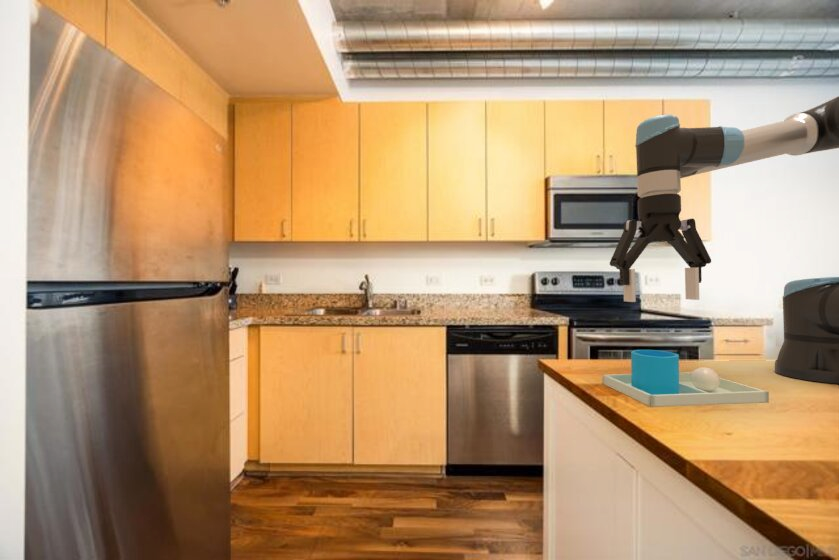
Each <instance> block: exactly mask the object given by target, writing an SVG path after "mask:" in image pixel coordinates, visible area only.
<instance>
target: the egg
mask: <svg viewBox="0 0 839 560" xmlns="http://www.w3.org/2000/svg"><path fill="white" fill-rule="evenodd" d="M691 372H692V374H691V381H692V383H693V385H694V386H695V387H696V388H698V389H700V390H703V391H713V390H715V389H716V388H717V387H718V386H719V383H720V379H719V377H720V376H719V374H718V373H717V371H715V370H714V369H712V368H709V367H705V366H700V367H698V368H695V369H694V370H693V371H691Z"/></svg>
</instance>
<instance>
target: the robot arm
mask: <svg viewBox="0 0 839 560" xmlns="http://www.w3.org/2000/svg"><path fill="white" fill-rule="evenodd" d="M834 149H839V95H838V96H836V97H834V98H832V99H829V100H828V101H825V102H824V103H822V104H819V105H817V106H815V107H813V108H810V109H807V110H804V111H802V112H797V113H794V114H791V115H790V116H789V115H788V117H786V118H785V119H784V120H783V121H780V122H774V123H770V124H765V125H760V126H757V127H752V128H750V129H748V128H747V129H745V130H740V129H739V128H737V127H729V126H728V127H727V126H721V125H720V126H713V127H711V126H710V127H689V128H688V127H681V123H680V120H679V118H678V116H676V115H674V114H661V115H655V116H653V117H649V118H647V119H645V120H643V121H642V122H640V123H639V124H638V125H637V128H636V134H635V150H636V152H635V153H636V157H635V158H636V174H637V175H636V176H637V178H636V183H637V186H636V187H637V196H638V197H639V199H638V200H637V215H638V218H639V219H638V220H637V219H634V218H633V219H630V220H625V221H624V222H623V229H622V230H623V231H622V234H621V236H620V239H619V241H618V243H617V245H616V247H615V250H614V252H613V255H612V256H611V259H610V261H609V265H610V266H611V267H614V268H616V270H619V283H620V286H623V302H628V303H629V302H630V303H636V301H637V299H636V295H637V294H636V269H635V268H633V269H632V267H633V265H634V264H635V262H636V261H637V260H638V259H639V257H640V255H642V253H643V252H644V251H645V249H646V248H647V247H648V246H649V245H650V244H651V243H655V242H656V243H657V242H658V243H667V244H669V245H671V247H672V248H673V249H674V250H675V252H677V254H678V255H679V256H680V257H681V258H682V260H683V261H684V262H685V263H686V264H687V265H688V267H684V283H685V284H684V285H685V289H684V290H685V300H692V301H693V300H694V301H695V300H697V301H700V283H702V268H704V267H706V266H707V264H711V263H712V259H711V257H710V254H709V253H708V251H707V248H706V246H705V245H704V242H703V240H702V238H701V236H700V234H699V232H698V230H697V226H696V220H695V218H688V219H682V220H681V219H680V214H681V213H682V212H681V211H682V195H680V194H679V193H680V192H681V191H682V188H681V187H682V186H681V185H682V184H681V182H682V181H681V179H685V178H688V177H692V176H695V175H700V174H704V173H708V172H714V171H717V170H721V169H725V168H729V167H733V166H734V167H735V166H739V165H743V164H748V163H753V162H757V161H760V160H765V159H770V158H773V157H778V156H782V155H789V156H794V157H795V156H796V157H797V156H802V155H805V154H811V153H817V152H823V151H828V150H834ZM638 230H639V231H640V234H639V236H638V237H637V238H636V239H635V242H634V243H633V240H634V238H635V235H636V233H637V231H638ZM679 230H680V231H681V232H682V233H681V232H680V231H679ZM632 243H633V245H632ZM631 245H632V246H631ZM783 288H784V289H783V296H782V309H783V310H782V313H783V315H782V316H783V318H782V320H783V342H782V346H781V348H780V350H779V351H778V356H777V359H776V360H775V361H774V372H775V373H777V374H778V375H781V376H785V377H789V378H794V379H798V380H803V381H810V382H811V381H812V382H817V383H818V382H819V383H824V384H825V383H826V384H828V383H829V384H839V276H833V277H832V276H829V277H828V276H827V277H814V278H813V277H812V278H804V279H796V280H792V281H788V282H787V283H786V284H785V285H784V287H783Z"/></svg>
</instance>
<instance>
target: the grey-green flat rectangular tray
mask: <svg viewBox="0 0 839 560" xmlns="http://www.w3.org/2000/svg"><path fill="white" fill-rule="evenodd" d="M692 372H693V371H686V372H685V371H682V372H681V371H679V394H660V395H651V394H649V393H647V392H644V391H642V390H640V389H637V388H635V387H633V386H631V373H621V374H619V373H616V374H615V373H613V374H612V373H611V374H602V375H601V377H602V379H601V380H602V384H603V385H604V386H607V387H609V388H610V389H613V390H615V391H617V392H619V393H621V394H623V395H626V396H627V397H629V398H632V399H633V400H636V401H638V402H639V403H641V404H644V405H646V406H649V407H650V408H651V407H653V408H656V407H679V406H680V407H681V406H683V407H684V406H685V407H686V406H703V405H704V406H705V405H706V406H708V405H710V406H711V405H730V404H731V405H732V404H733V405H736V404H760V403H769V401H770V400H769V399H770V394H769V393H770V392H769V391H767V390H763V389H760V388H757V387H753V386H750V385H746V384H744V383H741V382H736V381H733V380H730V379H727V378H723V377H720V376H719V379H720V383H719V386H718V387H717V388H716V389H715V390H713V391H703V390H700V389H698V388H696V387H695V386H694V385H693V383H692V381H691V374H692Z"/></svg>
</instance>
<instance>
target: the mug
mask: <svg viewBox="0 0 839 560" xmlns="http://www.w3.org/2000/svg"><path fill="white" fill-rule="evenodd" d="M630 353H631V354H630V355H631V357H630V358H631V359H630V364H631V366H630V367H631V373H630V374H631V386H633V387H635V388H637V389H640V390H642V391H644V392H647V393H649V394H651V395H660V394H679V372H680V354H679V353H675V352H671V351H666V350H657V349H634V350H631V352H630Z"/></svg>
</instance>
